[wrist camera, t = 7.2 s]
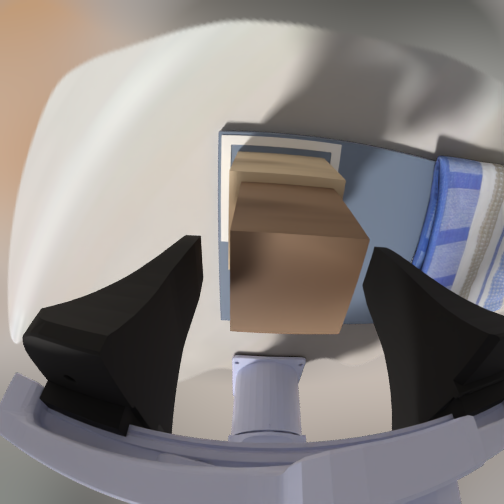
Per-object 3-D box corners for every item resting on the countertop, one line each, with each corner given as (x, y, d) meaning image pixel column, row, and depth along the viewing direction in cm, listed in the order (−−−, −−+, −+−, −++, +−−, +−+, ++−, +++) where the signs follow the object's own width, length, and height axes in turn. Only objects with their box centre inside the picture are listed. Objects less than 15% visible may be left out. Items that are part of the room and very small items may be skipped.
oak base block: (312, 233, 19) (326, 274, 15) (235, 228, 19) (228, 269, 15) (323, 158, 16) (345, 180, 12) (238, 151, 16) (229, 170, 12)
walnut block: (319, 265, 15) (338, 334, 10) (239, 260, 15) (230, 330, 10) (334, 188, 12) (370, 239, 8) (241, 181, 12) (230, 230, 8)
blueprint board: (382, 317, 25) (384, 323, 24) (221, 313, 25) (220, 320, 24) (434, 160, 16) (440, 163, 16) (220, 130, 16) (218, 132, 16)
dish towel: (513, 295, 24) (523, 308, 21) (386, 323, 24) (396, 344, 22) (553, 180, 14) (567, 190, 12) (430, 145, 15) (453, 155, 13)
